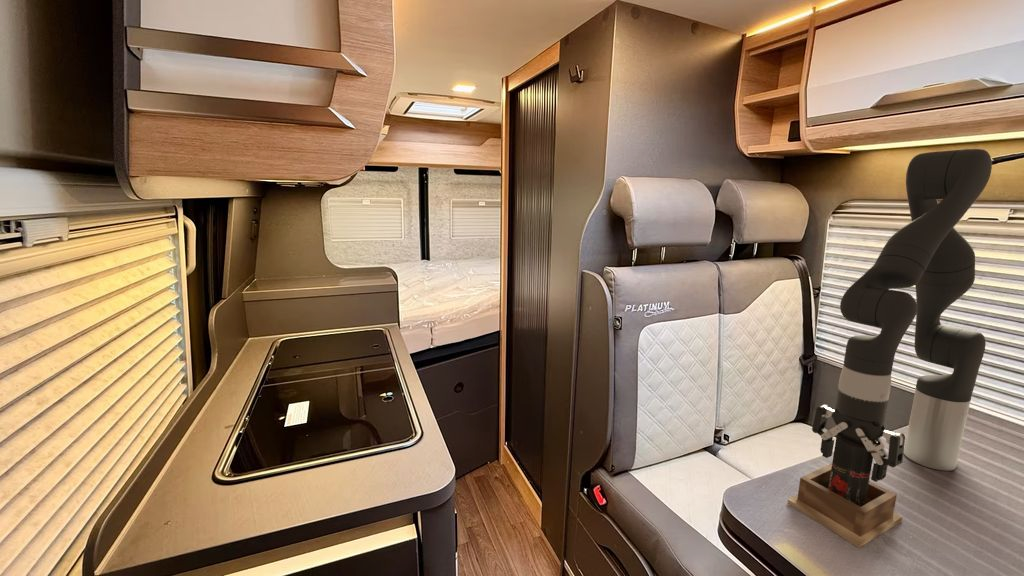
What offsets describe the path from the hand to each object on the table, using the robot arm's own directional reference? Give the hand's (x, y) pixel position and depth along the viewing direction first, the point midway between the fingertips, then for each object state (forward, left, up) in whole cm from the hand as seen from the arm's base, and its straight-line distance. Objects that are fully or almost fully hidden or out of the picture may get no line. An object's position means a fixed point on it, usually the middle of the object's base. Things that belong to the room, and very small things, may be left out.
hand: (850, 467), depth 85 cm
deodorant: (0, 0, -9) cm, 9 cm away
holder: (0, 0, -10) cm, 10 cm away
